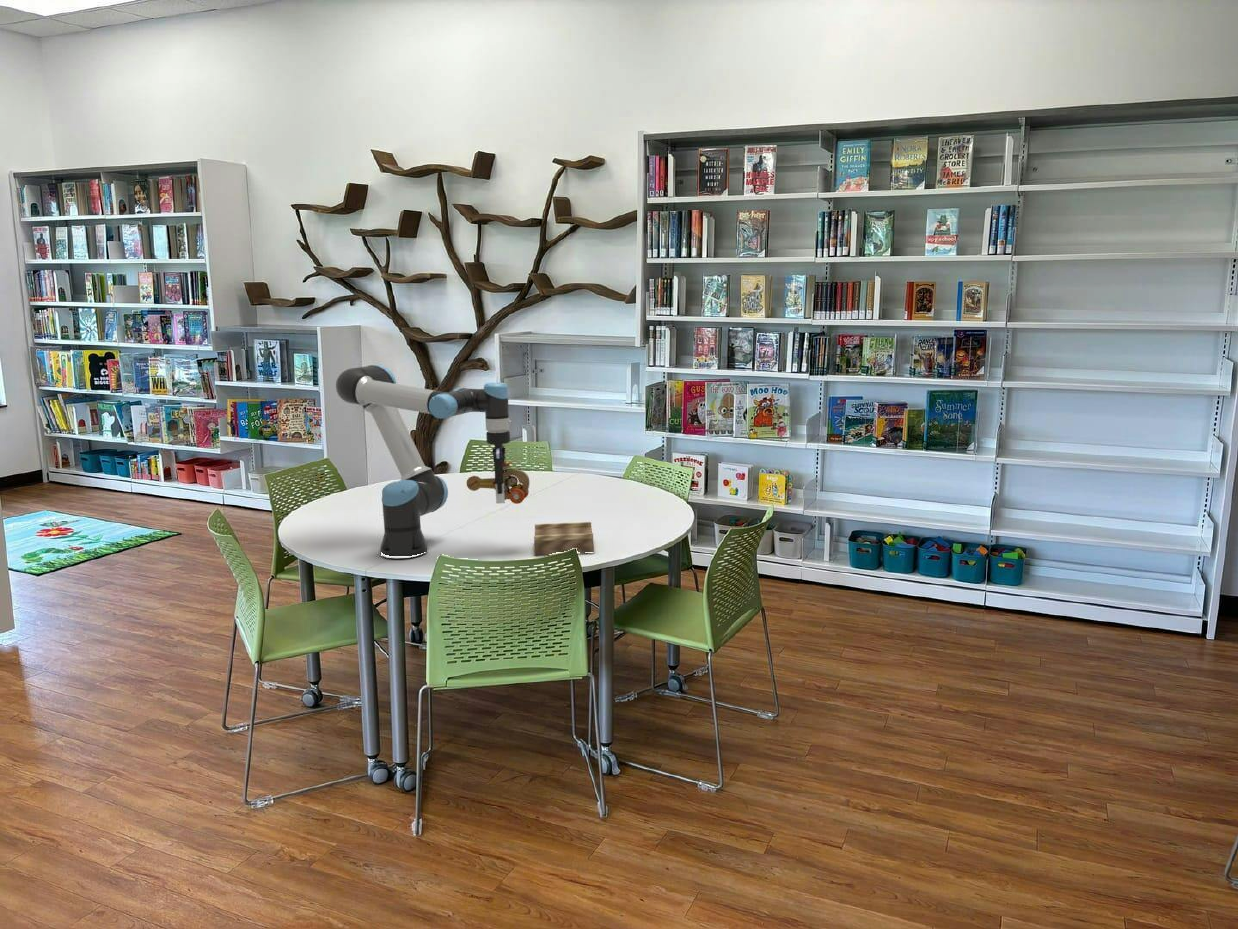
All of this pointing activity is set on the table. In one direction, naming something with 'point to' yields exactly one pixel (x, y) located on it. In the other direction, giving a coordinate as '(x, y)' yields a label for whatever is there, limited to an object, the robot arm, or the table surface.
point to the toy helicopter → (505, 483)
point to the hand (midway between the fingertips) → (501, 500)
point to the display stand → (563, 538)
